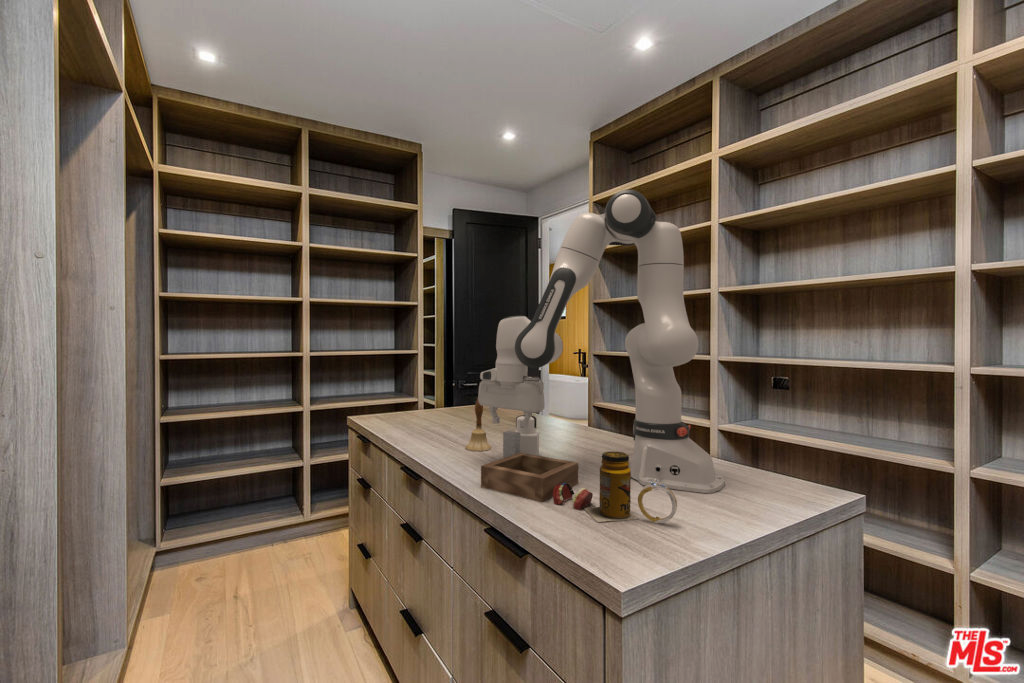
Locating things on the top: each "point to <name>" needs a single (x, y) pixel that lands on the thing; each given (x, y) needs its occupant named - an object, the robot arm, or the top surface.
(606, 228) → the robot arm
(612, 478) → the condiment
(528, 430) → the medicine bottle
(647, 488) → the bracelet
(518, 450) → the stepped grey peg
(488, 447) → the hand bell
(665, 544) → the top surface
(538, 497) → the open wooden box
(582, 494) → the dentures model
